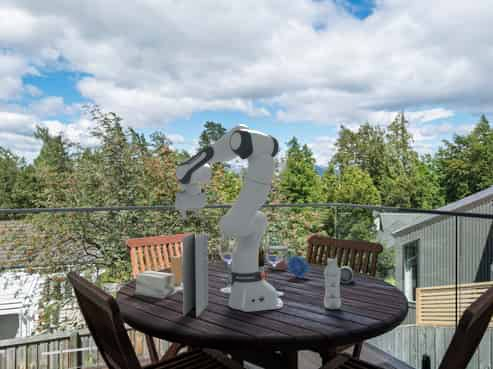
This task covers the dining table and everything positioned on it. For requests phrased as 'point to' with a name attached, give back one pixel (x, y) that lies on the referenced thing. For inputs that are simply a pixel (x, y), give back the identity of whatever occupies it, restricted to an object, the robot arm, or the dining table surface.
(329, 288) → the plastic bottle
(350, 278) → the ceramic mug
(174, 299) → the dining table surface
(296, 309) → the dining table surface
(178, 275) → the tan rectangular block
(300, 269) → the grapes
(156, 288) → the block
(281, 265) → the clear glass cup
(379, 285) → the dining table surface
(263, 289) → the robot arm
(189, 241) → the brochure
